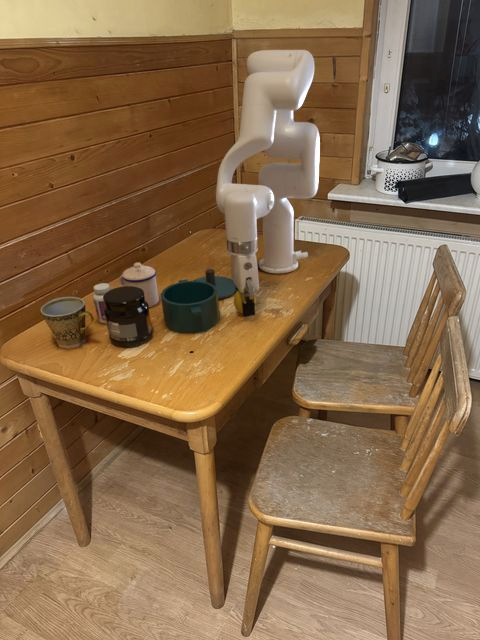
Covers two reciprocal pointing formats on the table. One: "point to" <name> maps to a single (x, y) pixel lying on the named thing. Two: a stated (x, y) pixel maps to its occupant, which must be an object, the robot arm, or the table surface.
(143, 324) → the supplement container
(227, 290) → the cooker lid
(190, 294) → the cooker
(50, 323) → the ceramic cup
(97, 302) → the pill bottle
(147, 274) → the teacup with lid
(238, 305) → the lemon
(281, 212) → the robot arm
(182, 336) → the table surface
